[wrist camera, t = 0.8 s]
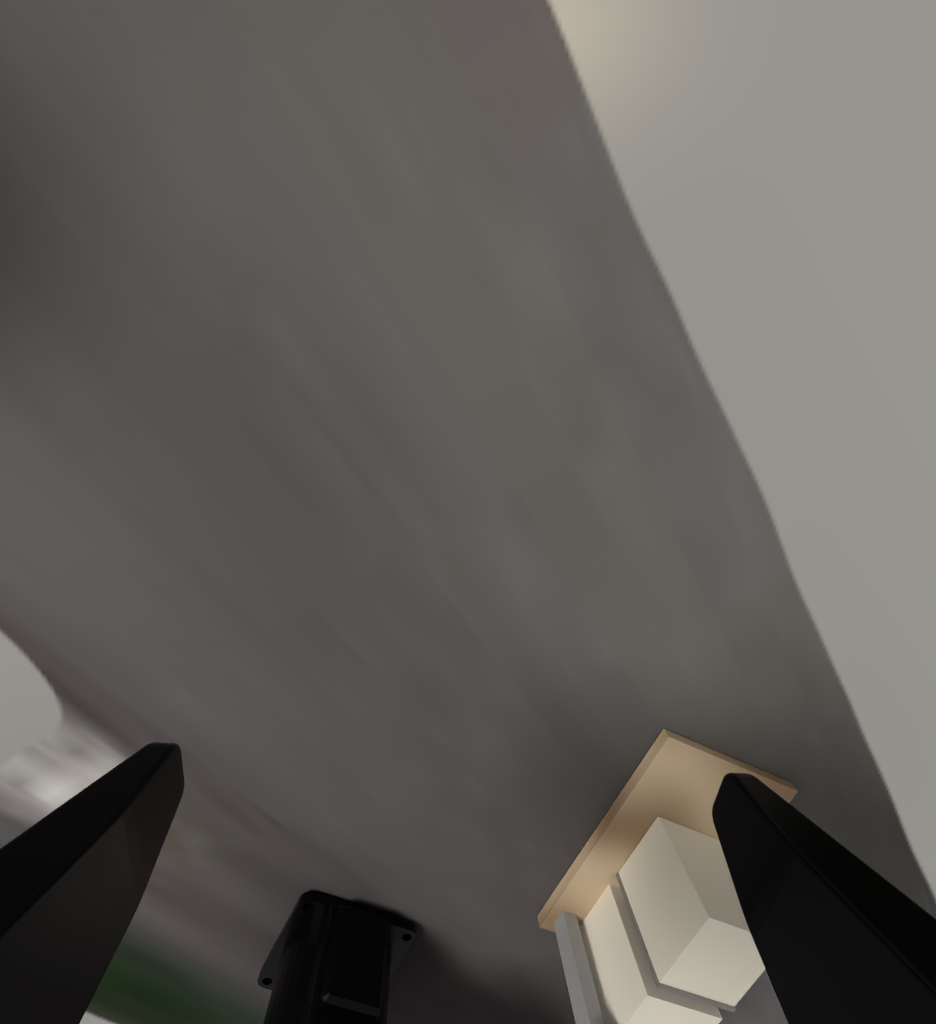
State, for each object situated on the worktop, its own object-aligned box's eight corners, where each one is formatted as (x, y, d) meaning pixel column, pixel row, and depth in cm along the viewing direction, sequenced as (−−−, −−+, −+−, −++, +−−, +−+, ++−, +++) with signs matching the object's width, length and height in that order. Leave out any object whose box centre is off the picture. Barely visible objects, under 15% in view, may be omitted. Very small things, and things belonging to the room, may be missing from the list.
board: (658, 955, 29) (663, 967, 29) (537, 915, 28) (539, 927, 27) (790, 782, 27) (798, 791, 26) (663, 728, 25) (669, 736, 25)
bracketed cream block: (656, 962, 29) (710, 1105, 23) (551, 927, 27) (581, 1069, 22) (693, 913, 28) (758, 1049, 22) (586, 876, 27) (627, 1009, 21)
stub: (680, 898, 27) (734, 1012, 22) (615, 875, 27) (656, 988, 22) (722, 841, 27) (788, 947, 22) (656, 816, 26) (709, 919, 21)
